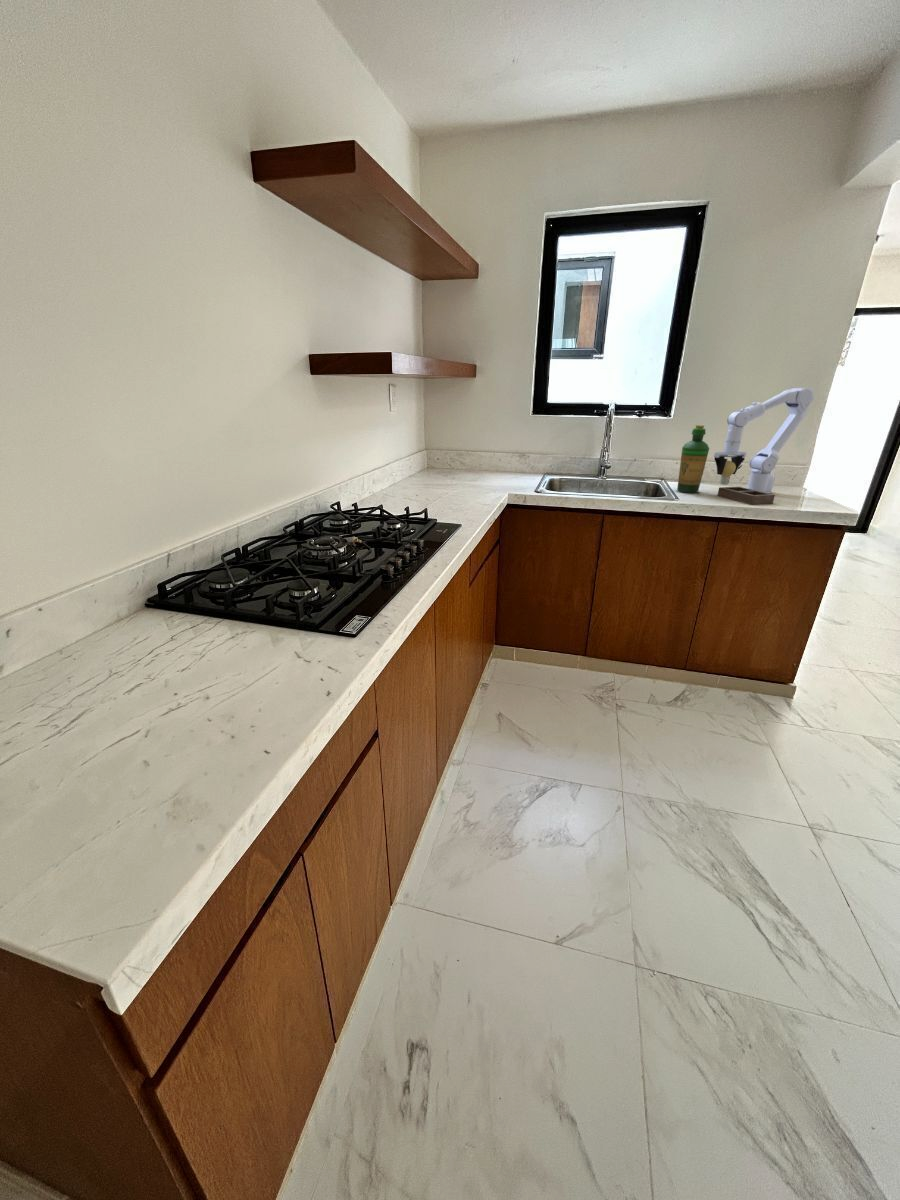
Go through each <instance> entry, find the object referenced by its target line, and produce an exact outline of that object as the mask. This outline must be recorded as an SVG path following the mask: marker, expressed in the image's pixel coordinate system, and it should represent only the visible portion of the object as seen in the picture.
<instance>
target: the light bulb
mask: <svg viewBox="0 0 900 1200" xmlns="http://www.w3.org/2000/svg"><path fill="white" fill-rule="evenodd" d="M735 469H736V465H735V464H734V463H733V462H732V461H731V460H727V462H726V464H725V466H724V469H723V473H722V475H720V479H719V482H718V483H719V484H720V485H723V486H726V485H729V484H730V480H731V476H732V475H734V474H733V473H734V471H735Z"/></svg>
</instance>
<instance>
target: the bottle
mask: <svg viewBox="0 0 900 1200" xmlns="http://www.w3.org/2000/svg"><path fill="white" fill-rule="evenodd" d="M691 435H692V438H691V440H689V441H688V442H686V443H685V444H684V445H683V446H682V447H681V454H680V455H681V456H680V457H681V458H680V463H679V471H678V480H677V490H676V491H678V492H679V493H684V494H696V493H698V492H699V490H700V486H701V482H702V478H703V474H704V471H705V467H706V463H707V459H708V455H709V451H710V447H709V445H708V444H707V442H705V441H704V437H705V435H706V428H705V425H701V424H696V425H695V427H694V428H693V429H692V431H691Z"/></svg>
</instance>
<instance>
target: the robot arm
mask: <svg viewBox="0 0 900 1200" xmlns="http://www.w3.org/2000/svg"><path fill="white" fill-rule="evenodd" d="M814 396H815V395H814V391H813V389H812V388H810V387H791V388H788V389H786V390H783V391H782V392H780V393H779V394H776V395H775V396H773V397H770V398H769V399H767V400H765V401H763V402H755V401H754V402H751V405H749V406H747V407H745V408H743V407H742V408H741V409H740V410H739V411H734V412H732V413H730V414H729V416H728V417H727V418H726V422H727V425H728V427H727V431H726V432H727V433H726V437H725V442H724V447H723V451H719V452H714V455H713V458H714V462H715V465H716V474H717V475H720V476H721V475H722V473H723V469H724V466H725V464H726V462H727V461H729V459H728V458H730V461H732V462H733V463H734V464H735V465H736V469H735V471H734V473H733V474H732V475H735V474H736V473H737V471H738V469H739V467H740V466H741V464H742V463H743V462H745V457H747V451H740V447H741V442H742V438H743V434H744V433H743V432H744V429H745V426H747V425H748V423H749V422H751V421H754V420H755V419H757V418H760V417H761V416H763V415H764V414H765V412H766V411H768V410H770V409H772V408H775V407H777V406H779V405H782V404H785V405H786V407H787V409H788V411H789V415H788V416H787V418H786V419H785V420H784V421H783V423H782V425H780V427H779V429H778V430H777V431H776V433H775V434H774V435H773V437H771V439H770V441H769V442H768V444H767V445H766V446H765V448H762V449H761V450H759V451H758V452H757V453H756V454H755V455H753V456H752V457H751V458H750V460H749V464H748V465H749V468H750V473H749V479H748V483H747V486H746V488H747V489H752V490H756V491H760V492H765V493H769V494H774V492H773V487H774V483H775V474H774V473H773V472H772V471H774V470H775V469H776V466H777V462H778V461H779V460H780V457H779V456H780V455H779V453H780V452H781V450H782V449H783V447H784V446H785V445H786V443H787V442H788V441H789V439H790V438H791V437H792V435H793V434H794V432H795V431H796V430H797V429H798V427H799V426H800V424H801V423H802V422H803V420H804V419H805V417H806V416H807V414H808V411H809V409H810V405H811V404H812V402H813V401H814V399H815V397H814Z"/></svg>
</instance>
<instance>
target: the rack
mask: <svg viewBox="0 0 900 1200" xmlns="http://www.w3.org/2000/svg"><path fill="white" fill-rule="evenodd" d="M717 496H718V497H721V498H725V499H728V500H731V501H732V500H733V501H736V502H740V503H744V504H747V505H754V506H755V505H770V504H774V500H775V496H776V495H775V494H774V493H765V492H760V491H756V490H752V489H747V487H742V486H722V487H721V486H720V487H718V490H717Z"/></svg>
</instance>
